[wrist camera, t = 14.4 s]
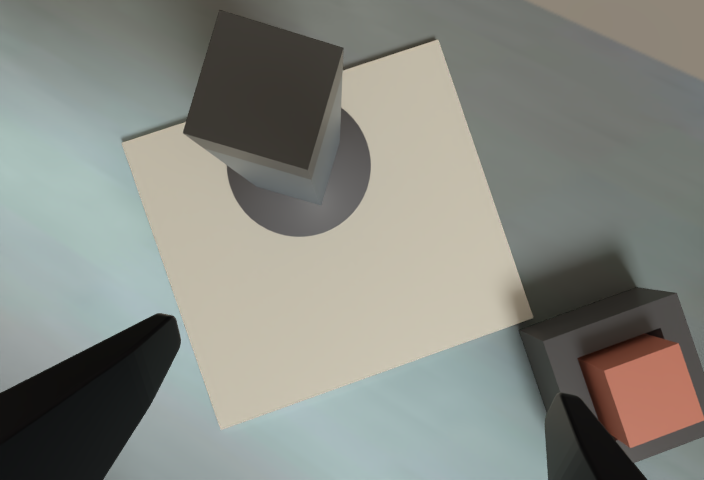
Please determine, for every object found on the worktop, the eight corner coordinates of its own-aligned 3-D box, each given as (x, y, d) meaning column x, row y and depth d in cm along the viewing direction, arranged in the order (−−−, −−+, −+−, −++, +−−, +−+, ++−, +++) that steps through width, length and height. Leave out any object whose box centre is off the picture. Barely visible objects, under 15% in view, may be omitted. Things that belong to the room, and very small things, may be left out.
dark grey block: (256, 186, 25) (182, 133, 13) (275, 122, 25) (219, 10, 13) (321, 205, 25) (307, 169, 13) (339, 142, 25) (343, 47, 13)
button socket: (560, 451, 26) (590, 479, 23) (518, 329, 26) (542, 341, 23) (678, 407, 26) (723, 429, 23) (637, 287, 26) (676, 293, 23)
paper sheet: (222, 427, 25) (220, 430, 25) (124, 144, 25) (120, 142, 24) (531, 316, 26) (534, 318, 25) (436, 41, 26) (438, 38, 25)
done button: (594, 422, 24) (630, 448, 21) (570, 355, 24) (603, 370, 21) (659, 398, 24) (705, 420, 21) (636, 331, 24) (678, 343, 21)
